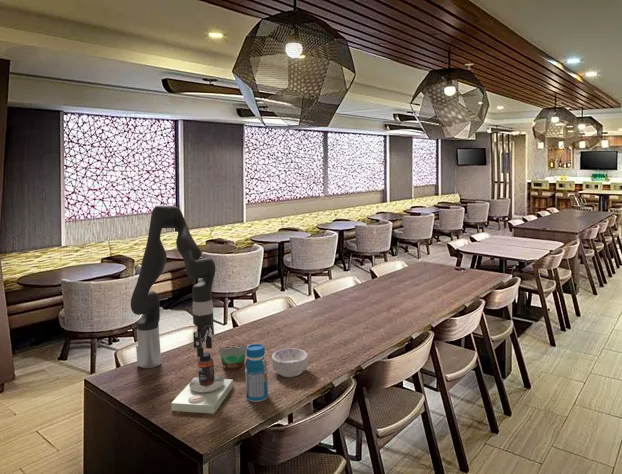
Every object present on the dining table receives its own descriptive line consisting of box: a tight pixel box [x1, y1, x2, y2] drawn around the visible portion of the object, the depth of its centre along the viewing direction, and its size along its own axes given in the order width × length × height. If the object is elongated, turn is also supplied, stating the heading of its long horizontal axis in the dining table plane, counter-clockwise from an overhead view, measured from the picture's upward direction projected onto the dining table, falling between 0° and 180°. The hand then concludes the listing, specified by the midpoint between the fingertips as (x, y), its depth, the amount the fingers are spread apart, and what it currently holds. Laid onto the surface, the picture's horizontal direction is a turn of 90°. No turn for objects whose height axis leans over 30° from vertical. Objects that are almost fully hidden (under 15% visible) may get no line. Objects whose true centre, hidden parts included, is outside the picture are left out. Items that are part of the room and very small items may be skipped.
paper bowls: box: [271, 347, 309, 378], centre depth 198 cm, size 15×15×8 cm
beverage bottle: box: [244, 343, 269, 403], centre depth 176 cm, size 8×8×20 cm
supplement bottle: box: [197, 351, 215, 385], centre depth 180 cm, size 6×6×11 cm
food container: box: [218, 342, 248, 372], centre depth 203 cm, size 12×6×10 cm, turn 105°
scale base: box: [170, 377, 234, 415], centre depth 178 cm, size 16×21×4 cm
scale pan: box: [188, 374, 225, 393], centre depth 181 cm, size 13×13×2 cm
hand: (204, 352), depth 179 cm, fingers open, 8 cm apart
